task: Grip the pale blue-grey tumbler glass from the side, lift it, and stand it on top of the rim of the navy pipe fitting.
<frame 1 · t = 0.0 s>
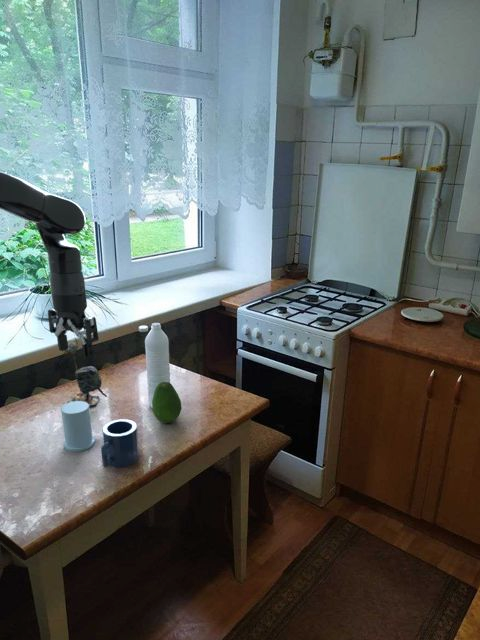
hand: (75, 353, 122), 22 cm above the table, tool pointing down, fingers open, 8 cm apart
water bottle: (156, 405, 145), on the table
navy pipe fitting: (122, 458, 120), on the table
plant with pod: (87, 403, 145), on the table
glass: (79, 443, 125), on the table
avocado: (167, 422, 136), on the table
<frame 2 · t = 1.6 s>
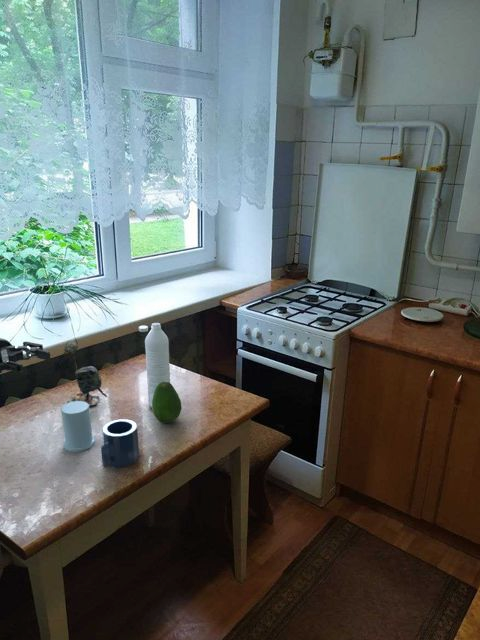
hand: (35, 362, 121), 20 cm above the table, tool horizontal, fingers open, 8 cm apart
nothing on the table moved.
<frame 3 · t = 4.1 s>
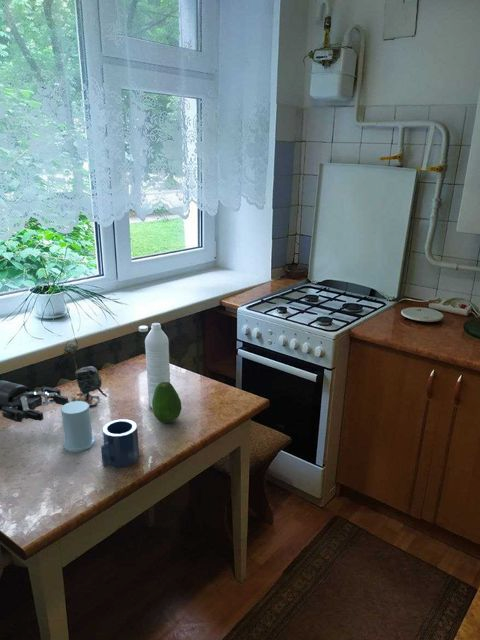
hand: (55, 409, 124), 8 cm above the table, tool horizontal, fingers open, 8 cm apart
nothing on the table moved.
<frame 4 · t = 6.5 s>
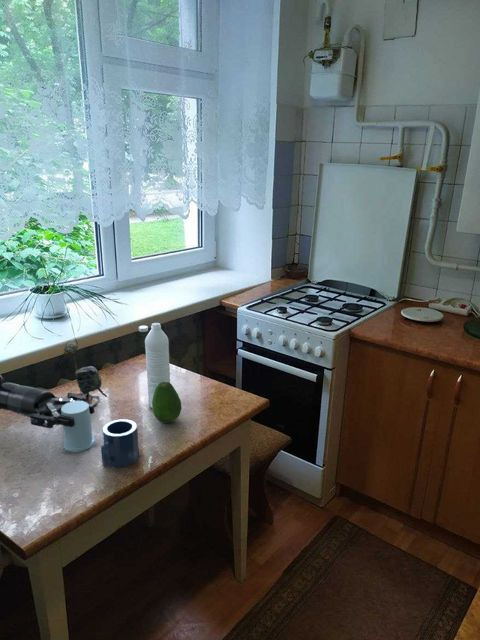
hand: (83, 416, 121), 8 cm above the table, tool horizontal, fingers closed on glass, 6 cm apart
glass: (79, 443, 125), on the table, touching gripper
everything else where it was.
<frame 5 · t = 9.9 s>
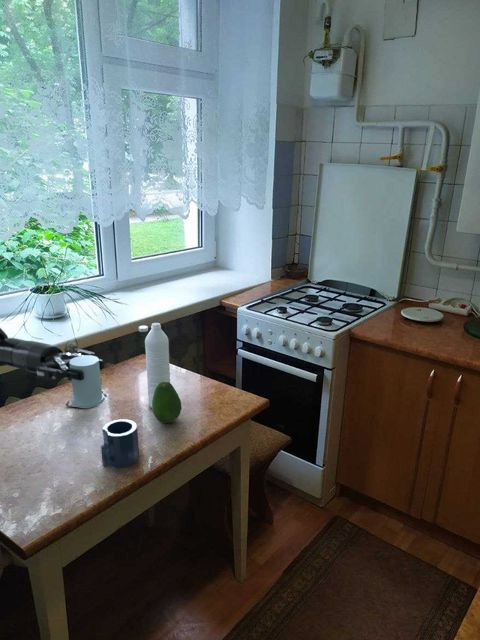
hand: (93, 370, 114), 22 cm above the table, tool horizontal, fingers closed on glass, 6 cm apart
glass: (88, 400, 118), point 13 cm above the table, touching gripper
everything else where it was.
when the fingers open (17 cm above the table, at t = 13.3 s): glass stays where it is, resting on navy pipe fitting.
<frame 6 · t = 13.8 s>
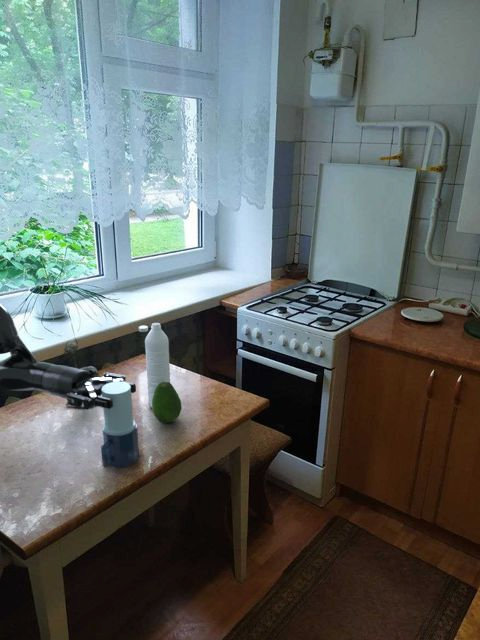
hand: (123, 396, 112), 17 cm above the table, tool horizontal, fingers open, 8 cm apart
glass: (119, 427, 116), point 8 cm above the table, touching navy pipe fitting
everything else where it was.
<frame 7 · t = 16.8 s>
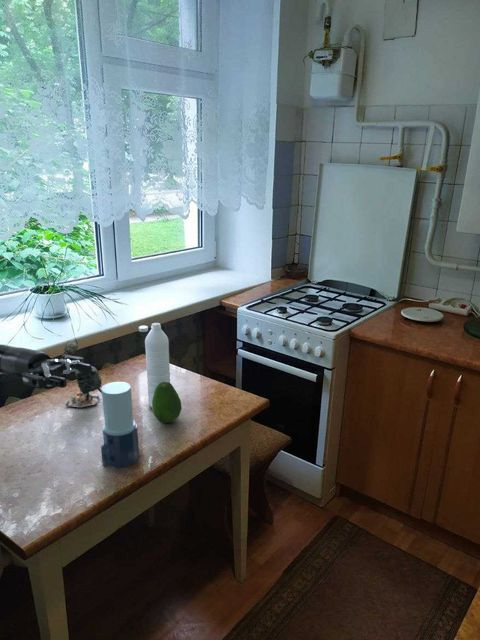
hand: (78, 376, 116), 20 cm above the table, tool horizontal, fingers open, 8 cm apart
nothing on the table moved.
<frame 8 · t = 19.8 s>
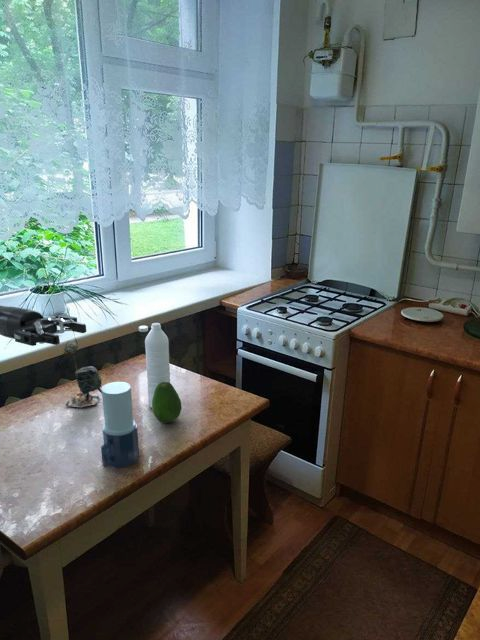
hand: (72, 334, 112), 30 cm above the table, tool horizontal, fingers open, 8 cm apart
nothing on the table moved.
at the end: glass 0.1 cm off-centre on the navy pipe fitting, point 8.5 cm above the navy pipe fitting's base; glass tilted 0°; the gripper is holding nothing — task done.
